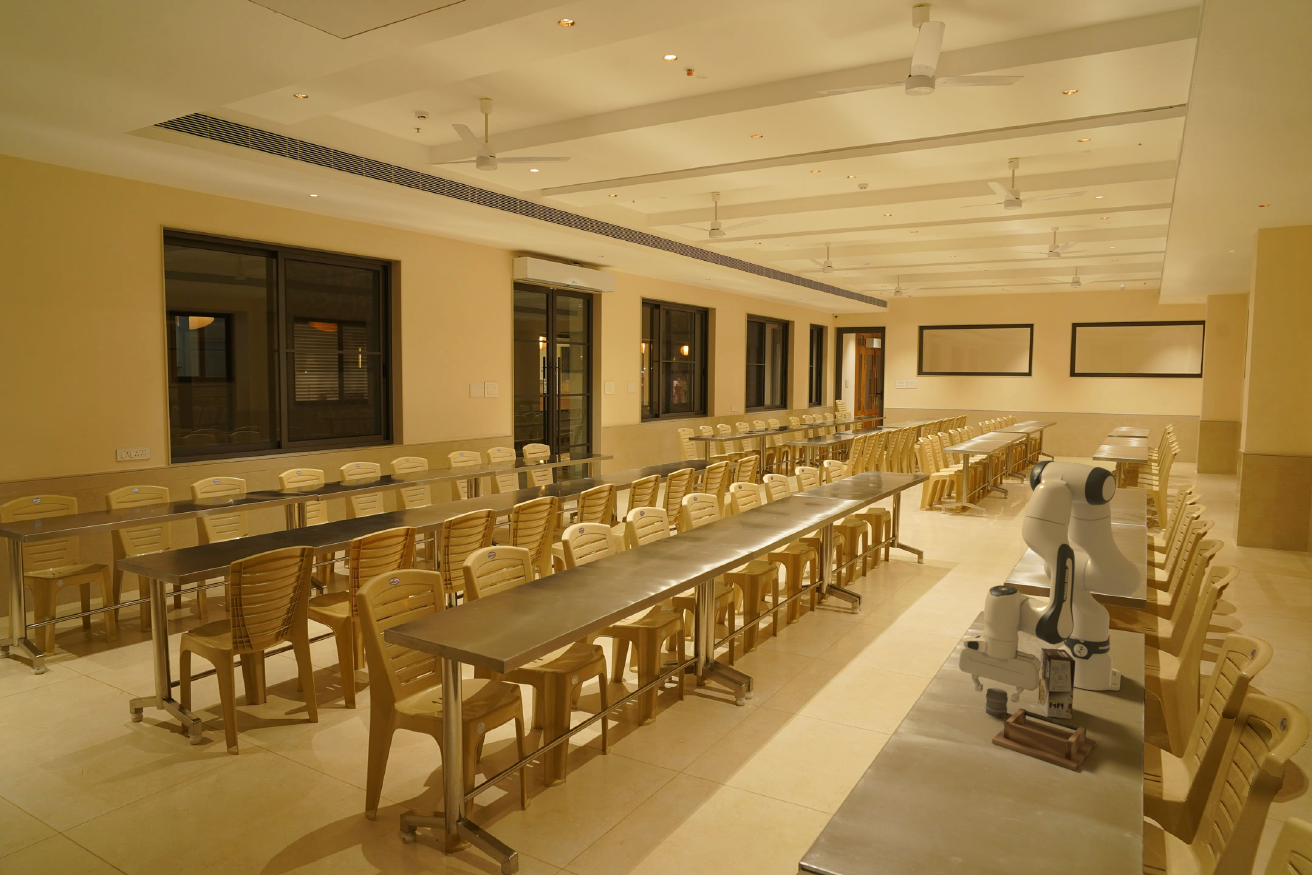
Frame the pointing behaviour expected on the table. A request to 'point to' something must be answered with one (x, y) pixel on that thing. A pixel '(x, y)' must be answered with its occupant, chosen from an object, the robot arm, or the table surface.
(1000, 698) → the stacked grey discs
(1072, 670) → the coffee box
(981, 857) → the table surface
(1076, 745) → the brown wooden open box
